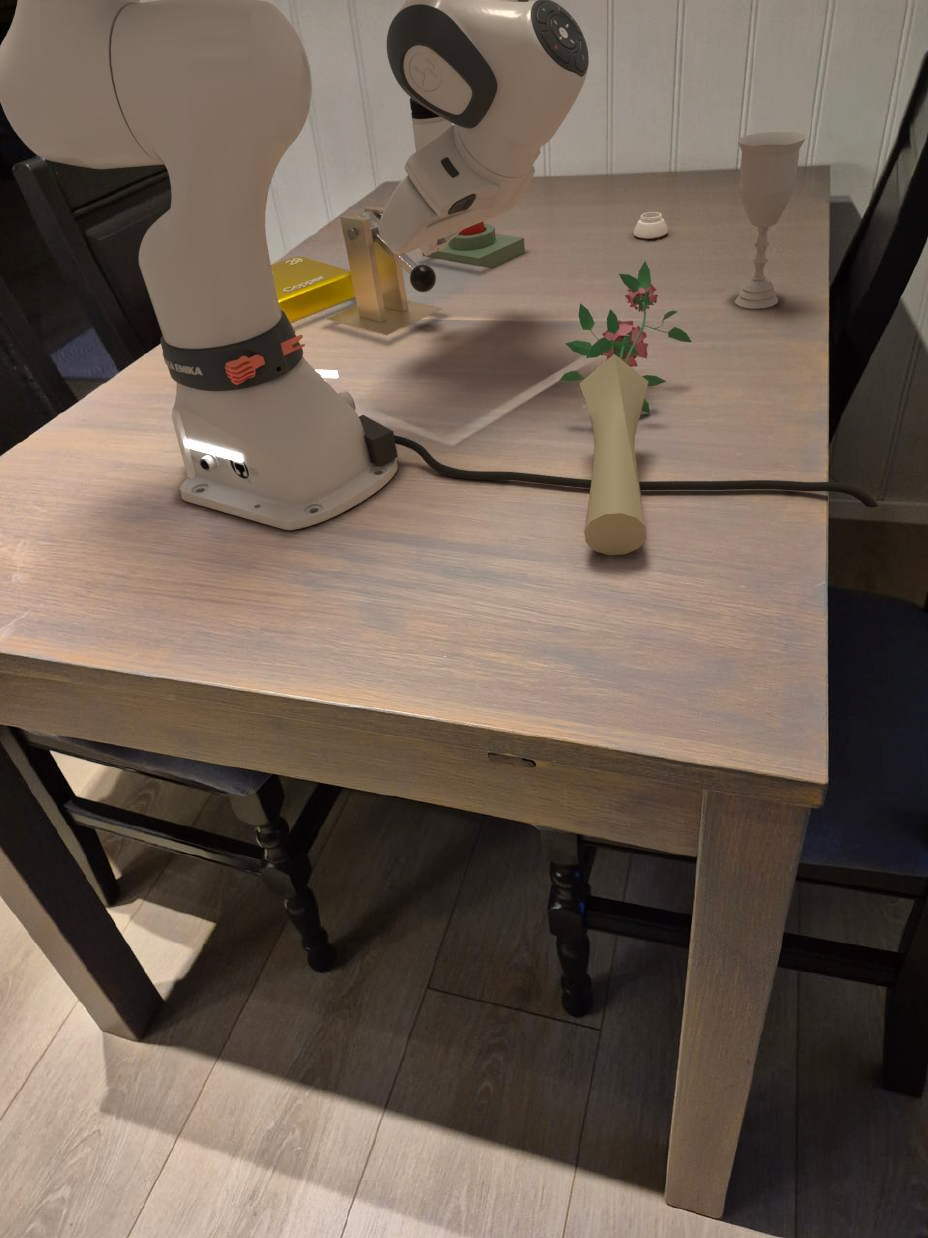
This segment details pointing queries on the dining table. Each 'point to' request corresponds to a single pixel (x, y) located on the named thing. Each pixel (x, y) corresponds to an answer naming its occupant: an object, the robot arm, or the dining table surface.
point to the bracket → (376, 282)
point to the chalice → (766, 199)
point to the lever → (404, 259)
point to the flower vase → (617, 420)
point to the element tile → (310, 286)
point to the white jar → (650, 226)
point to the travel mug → (426, 125)
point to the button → (473, 229)
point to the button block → (482, 248)
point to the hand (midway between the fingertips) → (430, 247)
